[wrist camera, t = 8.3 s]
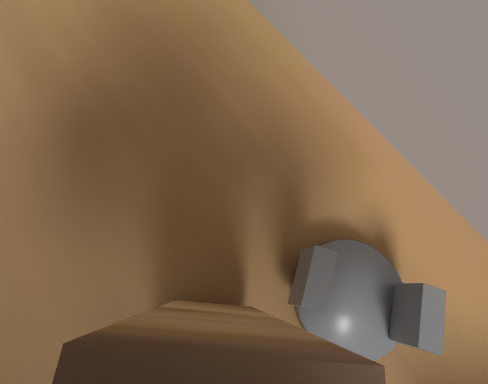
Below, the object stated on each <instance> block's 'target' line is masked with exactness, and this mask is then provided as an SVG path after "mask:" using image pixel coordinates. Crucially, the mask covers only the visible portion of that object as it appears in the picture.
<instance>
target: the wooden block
mask: <svg viewBox="0 0 488 384" xmlns="http://www.w3.org/2000/svg"><path fill="white" fill-rule="evenodd" d="M52 384H386V383H385V370H384V366H383V365H381V364H379V363H376V362H374V361H372V360H370V359H367V358H365V357H363V356H361V355H358V354H356V353H354V352H352V351H350V350H347V349H345V348H343V347H341V346H338V345H336V344H334V343H332V342H329V341H327V340H325V339H323V338H320V337H318V336H316V335H314V334H311V333H309V332H307V331H305V330H302V329H300V328H298V327H296V326H294V325H291V324H289V323H287V322H285V321H282V320H280V319H278V318H276V317H273V316H271V315H269V314H267V313H264V312H262V311H260V310H258V309H255V308H253V307H248V306H237V305H225V304H213V303H202V302H190V301H178V300H174V301H172V302H169V303H167V304H164V305H161V306H159V307H156V308H154V309H151V310H149V311H146V312H143V313H141V314H138V315H136V316H133V317H131V318H128V319H125V320H123V321H120V322H118V323H115V324H113V325H110V326H107V327H105V328H102V329H100V330H97V331H95V332H92V333H89V334H87V335H84V336H82V337H79V338H77V339H74V340H71V341H69V342H66V343H64V344H63V347H62V350H61V354H60V358H59V361H58V365H57V368H56V372H55V376H54V379H53V383H52Z"/></svg>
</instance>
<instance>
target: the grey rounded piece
mask: <svg viewBox="0 0 488 384" xmlns="http://www.w3.org/2000/svg"><path fill="white" fill-rule="evenodd" d="M445 296H446V291H444V290H441V289H438V288H435V287H432V286H430V285H427V284H424V283H408V284H403V283H402V281H401V279H400V277H399V275H398V273H397V271H396V270H395V268H394V267H393V265H392V264H391V263H390V262H389V260H388V259H387V258H386V257H385V256H384V255H383V254H381V253H380V252H379V251H377V250H376V249H375V248H373V247H371V246H369V245H367V244H365V243H362V242H359V241H355V240H336V241H332V242H329V243H326V244H323V245H321V246H318V245H313V246H311V247H308V248H305V249H303V250H301V253H300V257H299V261H298V265H297V269H296V273H295V277H294V281H293V285H292V289H291V293H290V297H289V301H288V304H291V305H294V308H295V312H296V315H297V318H298V320H299V322H300V324H301V326H302V328H303V329H304V330H305V331H307V332H309V333H311V334H314V335H316V336H318V337H320V338H323V339H325V340H327V341H329V342H332V343H334V344H336V345H338V346H341V347H343V348H345V349H347V350H350V351H352V352H354V353H356V354H358V355H361V356H363V357H365V358H367V359H370V360H372V361H374V360H376V359H379V358H381V357H383V356H384V355H386V354H387V353H388V352H390V351H391V350H392V349H393V348H394V346H395V345H396V344H397V343H401V344H404V345H406V346H409V347H413V348H416V349H419V350H423V351H426V352H429V353H433V354H436V355H439V356H442V353H443V334H444V315H445Z"/></svg>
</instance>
